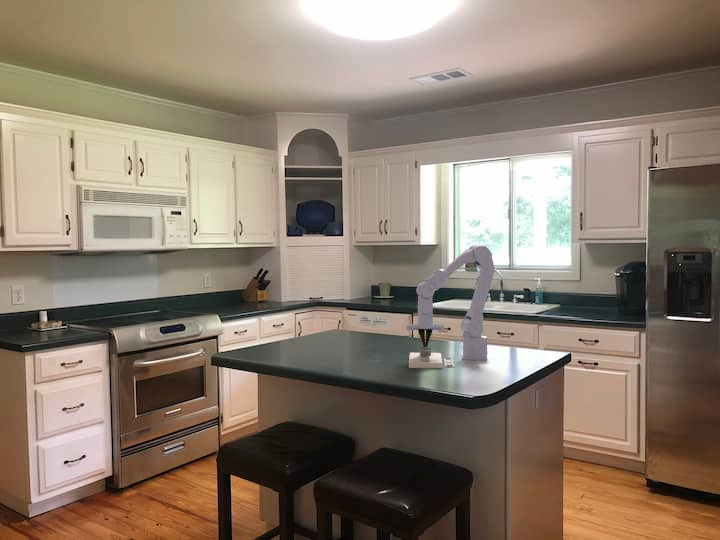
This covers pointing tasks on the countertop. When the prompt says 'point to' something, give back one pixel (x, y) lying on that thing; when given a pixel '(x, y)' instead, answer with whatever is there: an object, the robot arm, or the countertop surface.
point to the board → (416, 362)
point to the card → (448, 362)
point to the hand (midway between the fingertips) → (425, 348)
